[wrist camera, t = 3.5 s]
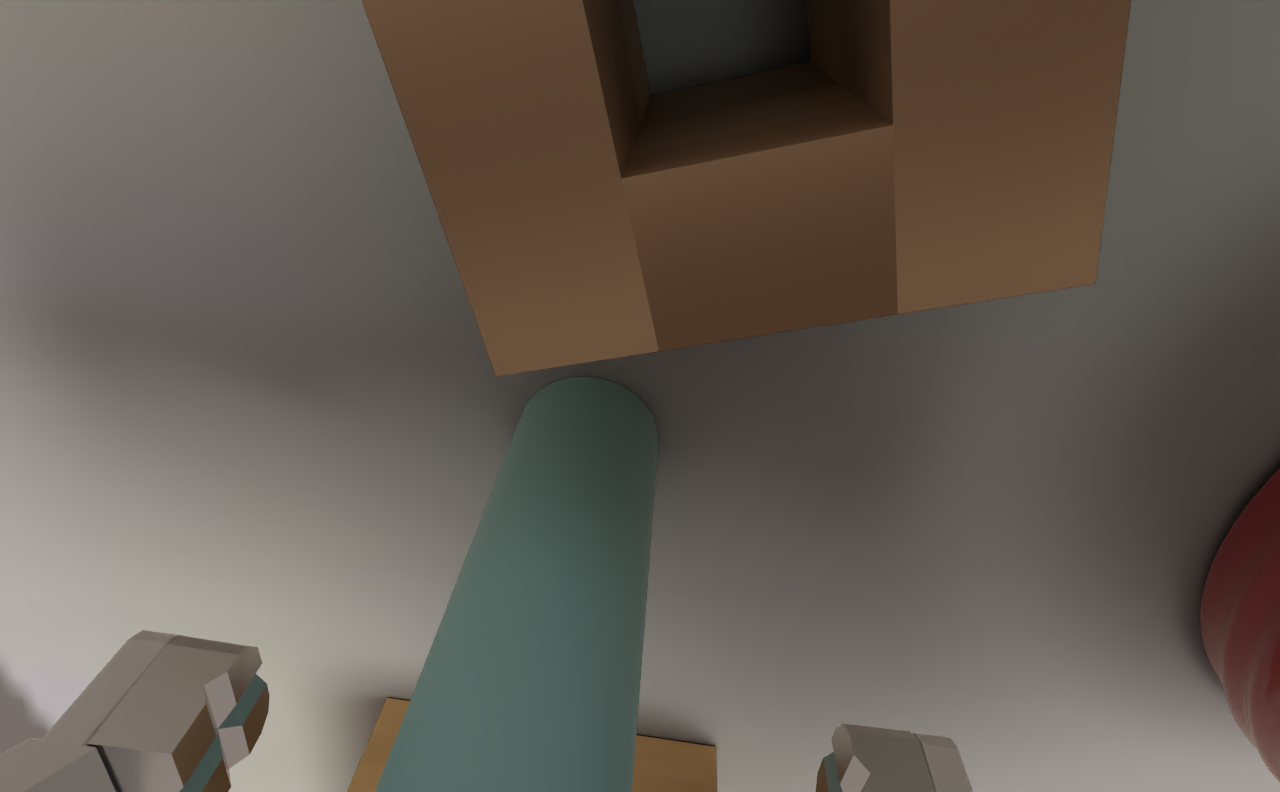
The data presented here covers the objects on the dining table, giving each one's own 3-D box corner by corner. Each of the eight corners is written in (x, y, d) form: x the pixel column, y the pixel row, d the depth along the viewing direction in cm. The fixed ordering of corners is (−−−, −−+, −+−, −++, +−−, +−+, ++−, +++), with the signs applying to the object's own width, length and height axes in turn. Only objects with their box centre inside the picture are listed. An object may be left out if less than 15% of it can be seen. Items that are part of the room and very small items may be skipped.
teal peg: (522, 365, 13) (83, 1379, 4) (668, 388, 13) (606, 1443, 4) (515, 481, 15) (186, 1421, 5) (647, 501, 15) (562, 1467, 5)
